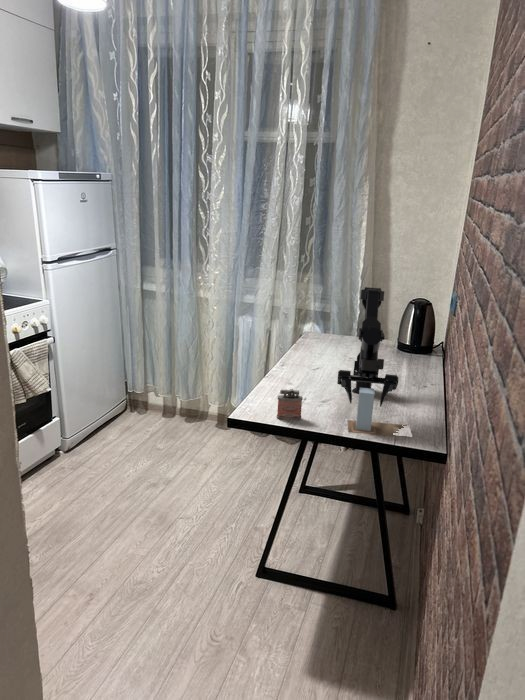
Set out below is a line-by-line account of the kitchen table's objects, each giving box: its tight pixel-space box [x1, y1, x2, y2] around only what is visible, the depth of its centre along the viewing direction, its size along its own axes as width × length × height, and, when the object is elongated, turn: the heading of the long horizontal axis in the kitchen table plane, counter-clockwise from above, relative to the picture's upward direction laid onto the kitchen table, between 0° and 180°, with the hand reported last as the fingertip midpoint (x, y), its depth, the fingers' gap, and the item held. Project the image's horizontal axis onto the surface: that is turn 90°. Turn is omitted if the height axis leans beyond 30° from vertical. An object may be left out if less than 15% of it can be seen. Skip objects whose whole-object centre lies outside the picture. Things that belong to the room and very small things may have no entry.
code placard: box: [346, 419, 408, 437], centre depth 171 cm, size 20×9×1 cm, turn 83°
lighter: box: [276, 388, 303, 421], centre depth 175 cm, size 8×3×10 cm, turn 92°
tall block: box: [355, 387, 375, 431], centre depth 170 cm, size 4×4×12 cm
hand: (365, 404), depth 168 cm, fingers open, 9 cm apart
